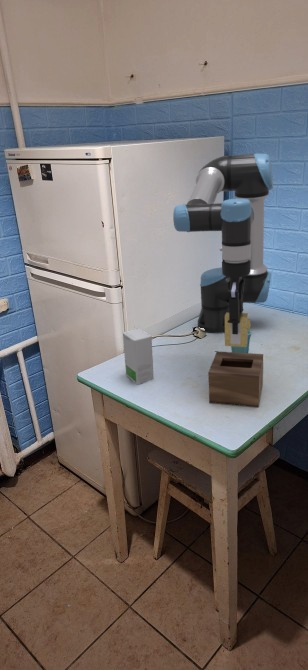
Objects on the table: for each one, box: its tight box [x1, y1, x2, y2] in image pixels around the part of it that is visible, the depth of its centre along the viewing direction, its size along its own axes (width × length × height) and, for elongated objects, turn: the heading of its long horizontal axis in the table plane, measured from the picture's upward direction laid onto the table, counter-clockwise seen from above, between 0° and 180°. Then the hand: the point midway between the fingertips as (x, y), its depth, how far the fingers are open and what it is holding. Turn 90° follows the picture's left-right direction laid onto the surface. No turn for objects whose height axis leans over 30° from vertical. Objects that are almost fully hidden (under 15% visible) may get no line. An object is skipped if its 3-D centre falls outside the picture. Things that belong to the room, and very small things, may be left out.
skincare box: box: [122, 327, 154, 385], centre depth 151 cm, size 8×7×16 cm
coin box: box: [207, 351, 264, 408], centre depth 138 cm, size 14×14×10 cm
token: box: [224, 312, 249, 347], centre depth 132 cm, size 3×6×9 cm, turn 73°
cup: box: [230, 318, 252, 353], centre depth 156 cm, size 14×8×15 cm, turn 150°
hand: (236, 340), depth 133 cm, fingers closed on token, 3 cm apart
